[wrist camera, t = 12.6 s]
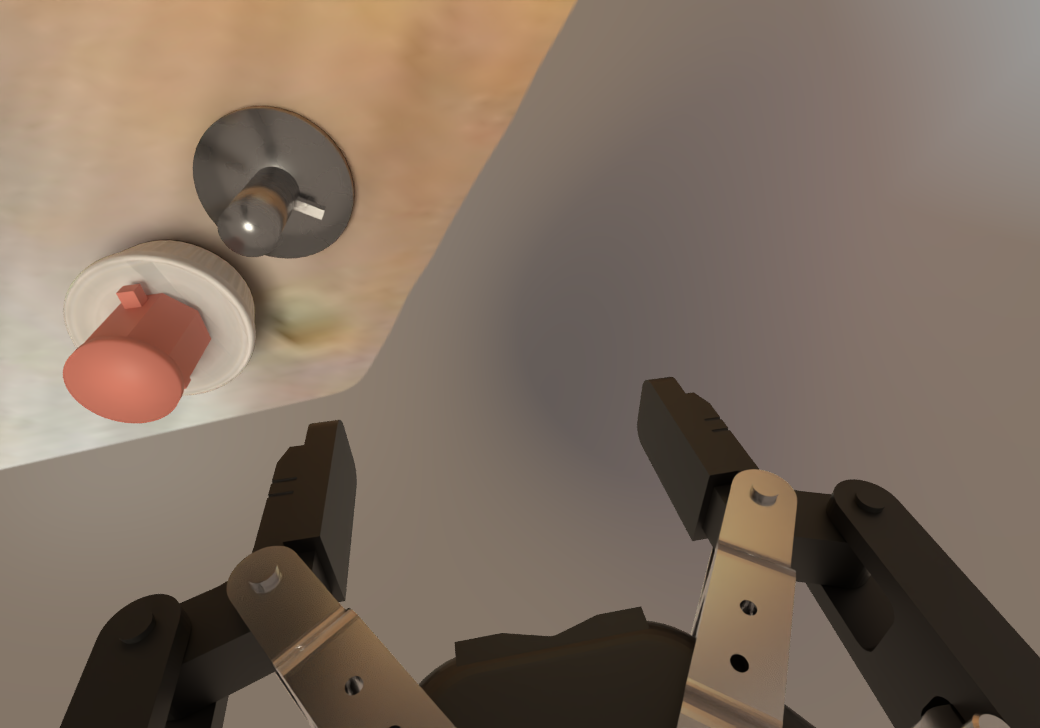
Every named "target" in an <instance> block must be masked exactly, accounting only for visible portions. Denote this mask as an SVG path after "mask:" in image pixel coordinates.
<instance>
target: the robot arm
mask: <svg viewBox="0 0 1040 728" xmlns="http://www.w3.org/2000/svg"><path fill="white" fill-rule="evenodd" d="M637 430H638V436H639V439H640V442H641V445H642V447H643V449H644V451H645V452H646V454H647V456H648V458H649V460H650V462H651V464H652V466H653V468H654V469H655V471H656V473H657V475H658V477H659V479H660V481H661V483H662V485H663V486H664V488H665V490H666V492H667V494H668V496H669V498H670V500H671V502H672V504H673V505H674V507H675V509H676V511H677V513H678V515H679V517H680V519H681V520H682V522H683V524H684V526H685V528H686V530H687V532H688V534H689V536H690V537H691V539H692V541H695V540H701V539H706V538H708V539H709V541H710V543H711V544H712V546H713V548H712V551H711V554H710V559H709V562H708V566H707V571H706V574H705V579H704V583H703V587H702V591H701V595H700V599H699V603H698V607H697V611H696V615H695V619H694V623H693V626H692V630H691V634H688V633H686V632H684V631H682V630H679V629H677V628H675V627H672V626H669V625H666V624H662V623H657V622H652V621H646V618H645V616H644V613H643V610H642V608H641V607H636V608H631V609H625V610H620V611H615V612H610V613H605V614H599V615H596V616H594V617H592V618H590V619H588V620H586V621H584V622H582V623H580V624H578V625H576V626H574V627H572V628H570V629H568V630H566V631H564V632H562V633H559V634H558V635H555V636H536V635H521V634H507V633H500V634H495V635H490V636H484V637H479V638H474V639H469V640H464V641H458V642H455V653H456V657H455V658H453V659H451V660H449V661H447V662H445V663H444V664H442V665H441V666H439V667H438V668H436V669H435V670H434V671H433V672H431V673H430V674H429V675H428V676H427V677H425V679H423V680H422V681H421V683H420V684H419V685H418V683H417V682H416V681H415V680H414V679H413V678H412V677H411V675H410V674H409V673H408V672H407V671H406V670H405V669H404V667H403V666H402V665H401V664H400V663H399V662H398V661H397V660H396V658H395V657H394V656H393V655H392V654H391V653H390V651H389V650H388V649H387V648H386V647H385V646H384V645H383V643H382V642H381V641H380V640H379V639H378V638H377V637H376V635H375V634H374V633H373V632H372V631H371V630H370V629H369V627H368V626H367V625H366V624H365V623H364V622H363V620H362V619H361V618H360V617H359V616H358V615H357V614H356V613H355V612H354V611H353V610H352V609H350V608H348V609H347V610H346V609H344V608H343V607H342V606H341V605H340V603H339V602H341V601H345V596H346V587H347V577H348V567H349V556H350V545H351V537H352V526H353V516H354V506H355V496H356V485H357V479H356V469H355V463H354V460H353V456H352V453H351V449H350V446H349V442H348V439H347V435H346V432H345V429H344V426H343V423H342V421H341V420H335V421H327V422H319V423H312V424H310V425H309V427H308V431H307V435H306V440H305V444H304V445H301V446H294V447H289V449H288V450H287V451H286V452H285V454H284V455H283V456H282V457H281V459H280V460H279V461H278V462H277V465H276V468H275V472H274V476H273V479H272V482H273V483H272V484H271V487H270V490H269V494H268V495H269V498H267V501H266V505H265V509H264V512H263V516H262V520H261V523H260V527H259V530H258V534H257V538H256V541H255V545H254V548H253V551H252V554H250V555H248V556H247V557H246V558H244V559H243V560H242V561H241V562H240V563H239V564H238V565H237V566H236V567H235V569H234V570H233V571H232V573H231V575H230V577H229V579H228V581H227V582H225V583H223V584H222V585H220V586H218V587H216V588H214V589H212V590H209V591H207V592H205V593H203V594H200V595H198V596H196V597H193V598H191V599H189V600H187V601H184V602H182V603H180V604H179V603H178V601H177V600H176V599H175V598H174V597H172V596H169V595H165V594H155V595H149V596H146V597H143V598H140V599H138V600H136V601H134V602H132V603H130V604H128V605H127V606H125V607H124V608H122V609H121V610H120V611H118V612H117V613H116V614H115V615H114V616H113V617H112V618H111V619H110V620H109V621H108V622H107V624H105V626H104V627H103V629H102V630H101V632H100V634H99V636H98V638H97V640H96V642H95V645H94V647H93V649H92V652H91V654H90V657H89V659H88V661H87V664H86V666H85V669H84V671H83V673H82V676H81V678H80V681H79V683H78V685H77V688H76V690H75V693H74V695H73V697H72V700H71V702H70V704H69V707H68V709H67V712H66V714H65V716H64V719H63V721H62V724H61V726H60V728H222V727H223V721H224V716H225V711H226V706H227V701H228V696H229V695H230V694H232V693H234V692H236V691H238V690H240V689H242V688H244V687H245V686H248V685H250V684H251V683H253V682H255V681H257V680H259V679H261V678H263V677H265V676H267V675H269V674H271V673H273V672H275V673H276V675H277V677H278V678H279V680H280V681H281V683H282V684H283V685H284V687H285V689H286V690H287V691H288V693H289V695H290V696H291V697H292V699H293V701H294V702H295V703H296V705H297V706H298V708H299V709H300V711H301V712H302V714H303V715H304V717H305V718H306V720H307V721H308V723H309V724H310V726H311V727H312V728H816V727H814V726H813V725H811V724H810V723H809V722H808V721H806V720H805V719H804V718H802V717H801V716H800V715H798V714H797V713H796V712H794V711H793V710H792V709H790V708H789V707H788V706H786V705H785V704H784V703H785V692H786V682H787V670H788V660H789V648H790V637H791V627H792V616H793V605H794V593H795V583H796V581H798V582H805V583H806V584H807V586H808V587H809V589H810V591H811V592H812V594H813V596H814V597H815V599H816V601H817V602H818V604H819V605H820V607H821V609H822V610H823V612H824V614H825V615H826V617H827V618H828V620H829V622H830V623H831V625H832V627H833V628H834V630H835V631H836V633H837V635H838V636H839V638H840V640H841V641H842V643H843V644H844V646H845V648H846V649H847V651H848V653H849V654H850V656H851V657H852V659H853V661H854V662H855V664H856V666H857V667H858V669H859V670H860V672H861V674H862V675H863V677H864V679H865V680H866V682H867V683H868V685H869V687H870V688H871V690H872V692H873V693H874V695H875V696H876V698H877V700H878V701H879V703H880V705H881V706H882V707H883V709H884V711H885V713H886V714H887V716H888V718H889V719H890V721H891V722H892V724H893V726H894V727H895V728H1040V658H1039V656H1038V655H1037V654H1036V653H1035V652H1034V651H1033V650H1032V648H1031V647H1030V646H1029V645H1028V644H1027V643H1026V642H1025V641H1024V640H1023V638H1021V636H1020V635H1019V634H1018V633H1017V632H1016V631H1015V630H1014V628H1013V627H1012V626H1011V625H1010V624H1009V623H1008V622H1007V621H1006V620H1005V618H1004V617H1003V616H1002V615H1001V614H1000V613H999V612H998V611H997V610H996V609H995V607H994V606H993V605H992V604H991V603H990V602H989V601H988V600H987V598H986V597H985V596H984V595H983V594H982V593H981V592H980V591H979V590H978V588H977V587H976V586H975V585H974V584H973V583H972V582H971V581H970V580H969V579H968V577H967V576H966V575H965V574H964V573H963V572H962V571H961V570H960V568H959V567H958V566H957V565H956V564H955V563H954V562H953V561H952V560H951V558H949V556H948V555H947V554H946V553H945V552H944V551H943V550H942V548H941V547H940V546H939V545H938V544H937V543H936V542H935V541H934V540H933V538H932V537H931V536H930V535H929V534H928V533H927V532H926V531H925V530H924V529H923V527H922V526H921V525H920V524H919V523H918V522H917V521H916V520H915V518H914V517H913V516H912V515H911V514H910V513H909V512H908V511H907V510H906V508H905V507H904V506H903V505H902V504H901V503H900V502H899V501H898V500H897V499H896V498H895V497H894V496H893V495H892V494H891V493H889V492H888V491H887V490H885V489H883V488H882V487H880V486H878V485H875V484H873V483H870V482H866V481H862V480H845V481H842V482H840V483H839V484H837V486H836V487H835V489H834V491H833V493H832V495H831V494H822V493H812V492H803V491H797V490H793V488H792V487H791V486H790V485H789V484H788V483H787V482H786V481H785V480H784V479H782V478H781V477H779V476H777V475H775V474H773V473H770V472H768V471H764V470H759V468H758V467H757V466H756V464H755V463H754V462H753V460H752V459H751V458H750V456H749V455H748V454H747V452H746V451H745V450H744V448H743V447H742V446H741V444H740V443H739V442H738V440H737V439H736V438H735V436H734V435H733V434H732V432H731V431H730V430H728V427H727V426H726V424H725V423H724V422H723V420H720V417H719V415H718V414H717V412H716V411H715V410H714V409H713V407H712V406H711V404H710V403H708V402H707V401H706V400H704V399H702V398H701V397H699V396H698V395H697V394H695V393H687V394H686V393H685V392H684V391H683V389H682V388H681V386H680V385H679V384H678V382H677V381H676V379H675V378H673V377H667V378H659V379H651V380H645V381H644V383H643V386H642V392H641V400H640V407H639V414H638V422H637Z"/></svg>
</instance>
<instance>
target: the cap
mask: <svg viewBox="0 0 1040 728" xmlns="http://www.w3.org/2000/svg"><path fill="white" fill-rule="evenodd" d="M116 294H117V296H118V298H119V300H120V301H121V304H120V305H119V306H118V307H117V308H116V309H115V310H114V311H113V312H112V313H111V314H110V315H109V316H108V317H107V319H106V320H105V321H104V322H103V323H102V324H101V325H100V326H99V327H98V328H97V329H96V330H95V331H94V332H93V334H92V335H91V336H90V337H89V338H88V339H87V340H86V341H85V342H84V343H83V344H82V345H80V346H79V347H78V348H77V349H76V350H75V351H74V352H73V353H72V355H71V356H70V357H69V358H68V359H67V361H66V363H65V365H64V369H63V378H64V383H65V385H66V387H67V389H68V391H69V392H70V394H71V395H72V396H73V397H74V398H75V399H76V400H77V401H78V402H79V403H80V404H81V405H82V406H84V407H85V408H87V409H88V410H90V411H92V412H93V413H95V414H97V415H100V416H102V417H104V418H108V419H111V420H114V421H119V422H125V423H146V422H151V421H155V420H158V419H161V418H163V417H165V416H166V415H168V414H169V413H171V412H172V411H173V410H174V408H175V407H176V406H177V404H178V402H179V400H180V399H181V397H182V395H183V392H184V389H186V388H187V387H188V385H189V383H190V381H191V379H190V376H191V374H192V372H193V370H194V369H195V367H196V365H197V363H198V362H199V360H200V358H201V356H202V355H203V353H204V351H205V349H206V348H207V346H208V344H209V342H210V341H211V337H210V335H209V333H208V331H207V329H206V326H205V324H204V322H203V320H202V318H201V316H200V314H199V312H198V311H197V310H195V309H193V308H191V307H189V306H187V305H185V304H183V303H181V302H179V301H177V300H175V299H173V298H171V297H169V296H167V295H165V294H163V293H159V294H151V295H146V294H145V292H144V290H143V289H142V287H141V285H140V284H135V285H126V286H122V287H121V288H120V290H119V291H118V292H117V293H116Z"/></svg>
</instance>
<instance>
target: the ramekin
mask: <svg viewBox="0 0 1040 728" xmlns="http://www.w3.org/2000/svg"><path fill="white" fill-rule="evenodd" d="M135 284H140V285H141V287H142V289H143V290H144V292H145V294H146V295H151V294H159V293H163V294H165V295H167V296H169V297H171V298H173V299H175V300H177V301H179V302H181V303H183V304H185V305H187V306H189V307H191V308H193V309H195V310H197V311H198V312H199V314H200V316H201V318H202V320H203V322H204V324H205V326H206V329H207V331H208V333H209V335H210V337H211V341H210V342H209V344H208V346H207V348H206V349H205V351H204V353H203V355H202V356H201V358H200V360H199V362H198V363H197V365H196V367H195V369H194V370H193V372H192V374H191V376H190V379H191V381H190V383H189V385H188V387H187V388H186V389H184V392H183V395H182V396H184V395H194V394H201V393H206V392H209V391H212V390H215V389H217V388H220V387H222V386H224V385H225V384H227V383H229V382H230V381H232V380H233V379H235V378H236V377H237V376H239V375H240V374H241V372H242V371H243V370H244V369H245V367H246V366H247V364H248V362H249V361H250V358H251V356H252V354H253V351H254V347H255V341H256V330H255V324H254V321H255V311H254V310H255V305H254V302H253V297H252V295H251V291H250V289H249V288H248V286H247V284H246V282H245V281H244V279H243V278H242V277H241V275H240V274H239V273H238V272H237V271H236V270H235V268H233V267H232V266H231V265H230V264H229V263H228V262H227V261H225V260H223V259H222V258H220V257H219V256H217V255H215V254H214V253H212V252H210V251H208V250H205V249H203V248H201V247H198V246H195V245H192V244H188V243H184V242H180V241H172V240H167V241H164V240H159V241H151V242H147V243H142V244H139V245H136V246H134V247H131V248H128V249H126V250H124V251H122V252H120V253H117V254H113V255H110V256H107V257H104V258H102V259H100V260H98V261H96V262H94V263H92V264H91V265H90V266H88V267H87V268H86V269H85V270H83V271H82V272H81V273H80V274H79V275H78V276H77V277H76V279H75V280H74V281H73V282H72V284H71V286H70V287H69V289H68V292H67V294H66V297H65V301H64V308H63V312H64V320H65V324H66V328H67V331H68V333H69V335H70V337H71V339H72V341H73V343H74V345H75V346H76V347H77V348H78V347H79V346H80V345H82V344H83V343H84V342H85V341H86V340H87V339H88V338H89V337H90V336H91V335H92V334H93V332H94V331H95V330H96V329H97V328H98V327H99V326H100V325H101V324H102V323H103V322H104V321H105V320H106V319H107V317H108V316H109V315H110V314H111V313H112V312H113V311H114V310H115V309H116V308H117V307H118V306H119V305H120V304H121V301H120V300H119V298H118V296H117V294H116V293H117V292H118V291H119V290H120V288H121V287H122V286H126V285H135Z"/></svg>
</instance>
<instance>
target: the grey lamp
mask: <svg viewBox="0 0 1040 728" xmlns="http://www.w3.org/2000/svg"><path fill="white" fill-rule="evenodd" d="M193 178H194V183H195V188H196V191H197V194H198V197H199V199H200V201H201V203H202V205H203V207H204V209H205V210H206V212H207V214H208V215H209V217H210V218H211V219H212V220H213V222H214V223H215V224H216V225H217V226H218V232H219V235H220V237H221V239H222V241H223V242H224V243H225V245H226V246H227V247H229V248H230V249H231V250H232V251H234V252H236V253H238V254H240V255H243V256H247V257H259V256H263V255H267V256H271V257H277V258H300V257H306V256H309V255H313V254H316V253H318V252H320V251H322V250H324V249H325V248H327V247H329V246H330V245H331V244H332V243H334V242H335V241H336V240H337V239H338V238H339V236H340V235H341V234H342V233H343V231H344V229H345V228H346V226H347V224H348V221H349V219H350V216H351V212H352V208H353V202H354V185H353V179H352V175H351V172H350V168H349V166H348V164H347V162H346V159H345V158H344V156H343V154H342V152H341V151H340V149H339V148H338V147H337V145H336V144H335V143H334V141H333V140H332V139H331V138H330V137H329V136H328V135H327V134H326V133H325V132H324V131H323V130H322V129H320V128H319V127H318V126H317V125H315V124H314V123H312V122H311V121H309V120H308V119H306V118H304V117H302V116H300V115H298V114H296V113H293V112H291V111H288V110H284V109H280V108H276V107H269V106H253V107H246V108H242V109H239V110H235V111H233V112H231V113H229V114H227V115H225V116H223V117H222V118H220V119H219V120H218V121H216V122H215V123H213V124H212V125H211V126H210V127H209V128H208V129H207V130H206V132H205V133H204V135H203V136H202V137H201V139H200V141H199V143H198V145H197V148H196V151H195V155H194V161H193Z"/></svg>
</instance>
